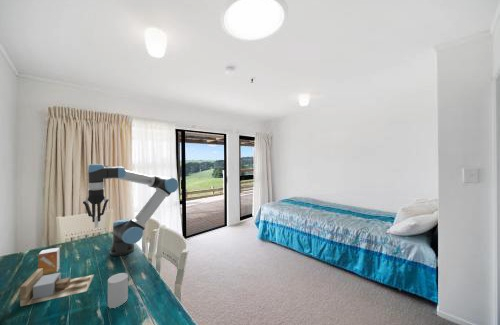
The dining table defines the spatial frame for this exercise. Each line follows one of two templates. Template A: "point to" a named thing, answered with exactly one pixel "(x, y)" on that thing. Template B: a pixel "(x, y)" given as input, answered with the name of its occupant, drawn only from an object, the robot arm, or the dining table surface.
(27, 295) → the jig
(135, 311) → the dining table surface
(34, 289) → the carriage
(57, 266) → the small box
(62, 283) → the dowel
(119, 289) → the light gray cylinder
